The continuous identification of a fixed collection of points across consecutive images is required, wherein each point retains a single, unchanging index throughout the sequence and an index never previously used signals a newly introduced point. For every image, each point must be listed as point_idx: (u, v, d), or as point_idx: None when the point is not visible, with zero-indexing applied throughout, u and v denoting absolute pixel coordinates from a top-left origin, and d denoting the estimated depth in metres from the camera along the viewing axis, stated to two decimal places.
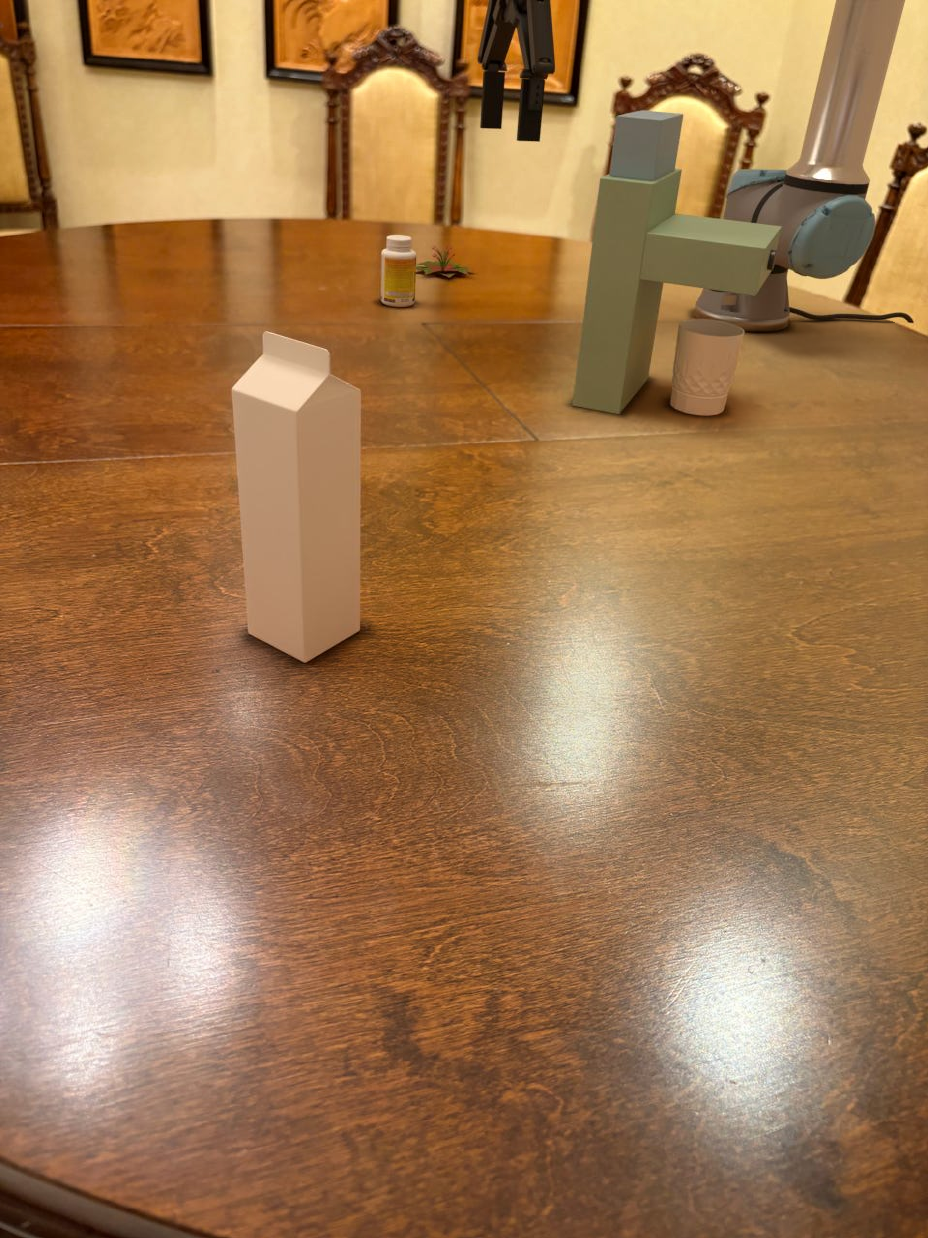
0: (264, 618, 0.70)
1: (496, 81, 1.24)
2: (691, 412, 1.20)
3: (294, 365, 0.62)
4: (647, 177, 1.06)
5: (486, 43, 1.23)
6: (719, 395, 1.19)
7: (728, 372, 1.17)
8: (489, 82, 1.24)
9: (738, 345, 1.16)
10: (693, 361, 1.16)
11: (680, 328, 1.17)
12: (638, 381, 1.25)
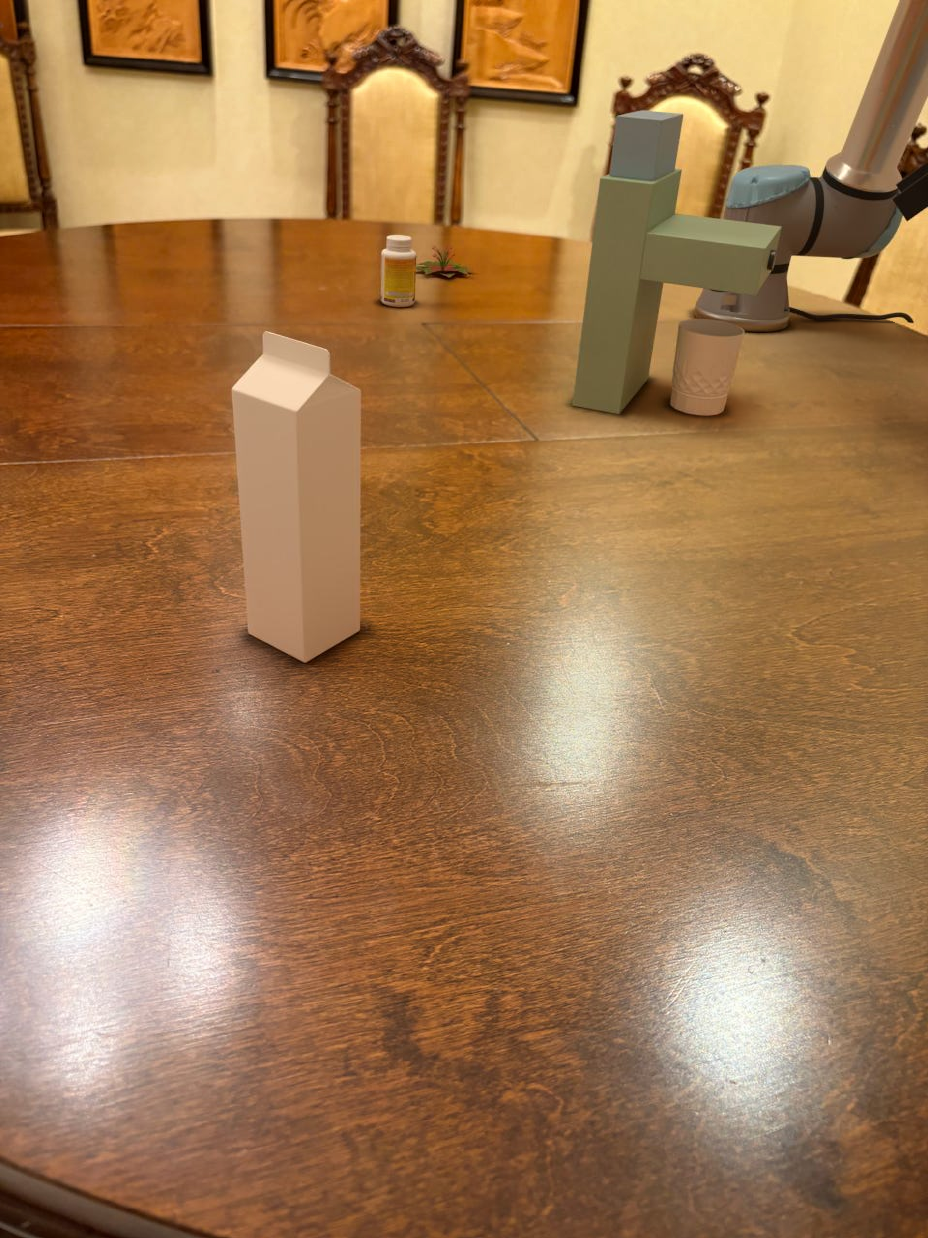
0: (264, 618, 0.70)
1: None
2: (691, 412, 1.20)
3: (294, 365, 0.62)
4: (647, 177, 1.06)
5: None
6: (719, 395, 1.18)
7: (728, 372, 1.17)
8: None
9: (738, 345, 1.16)
10: (693, 361, 1.16)
11: (680, 328, 1.17)
12: (638, 381, 1.25)
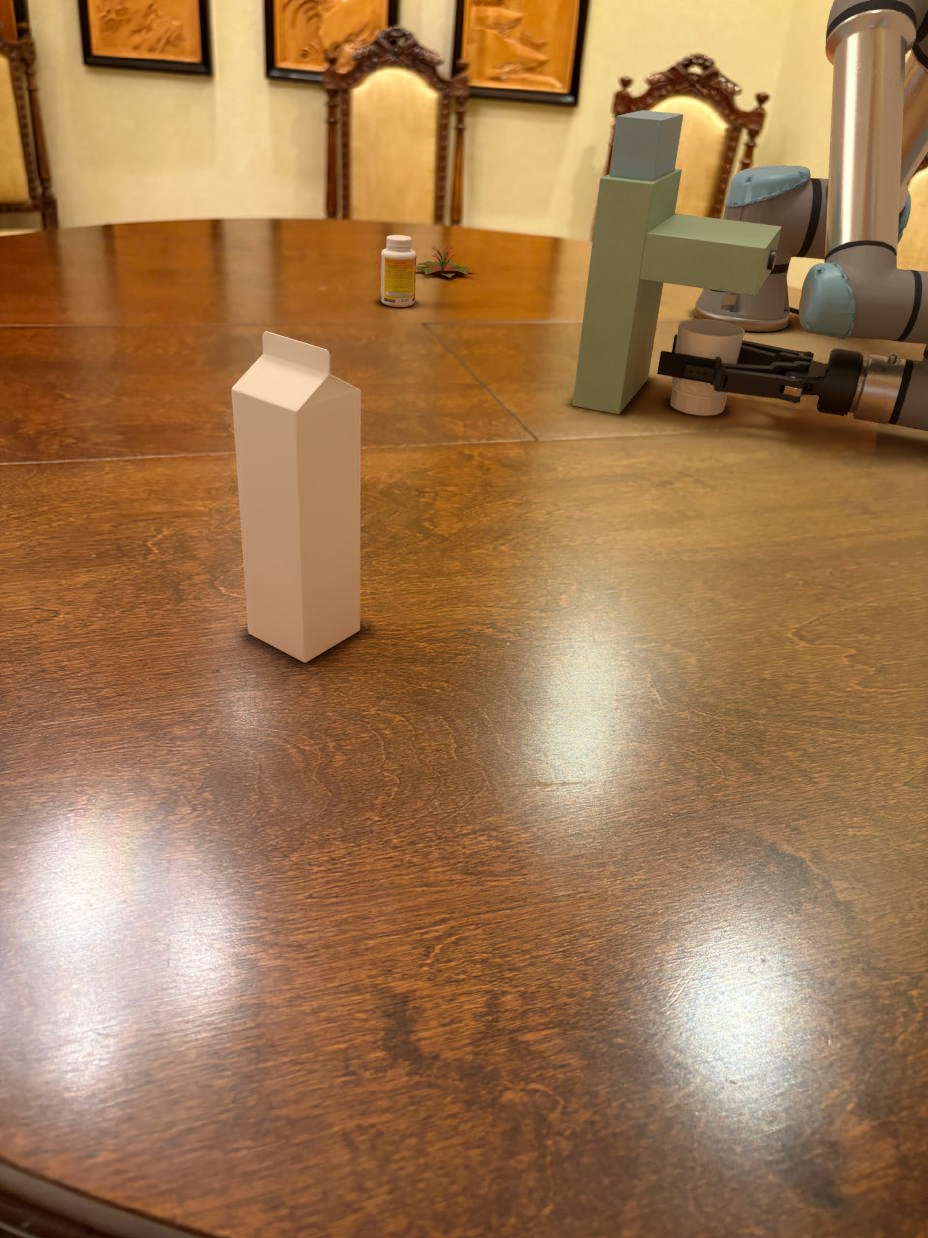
0: (264, 618, 0.70)
1: None
2: (691, 412, 1.20)
3: (294, 365, 0.62)
4: (647, 177, 1.06)
5: (754, 347, 1.22)
6: (719, 395, 1.18)
7: None
8: None
9: (738, 345, 1.16)
10: None
11: (680, 328, 1.17)
12: (638, 381, 1.25)
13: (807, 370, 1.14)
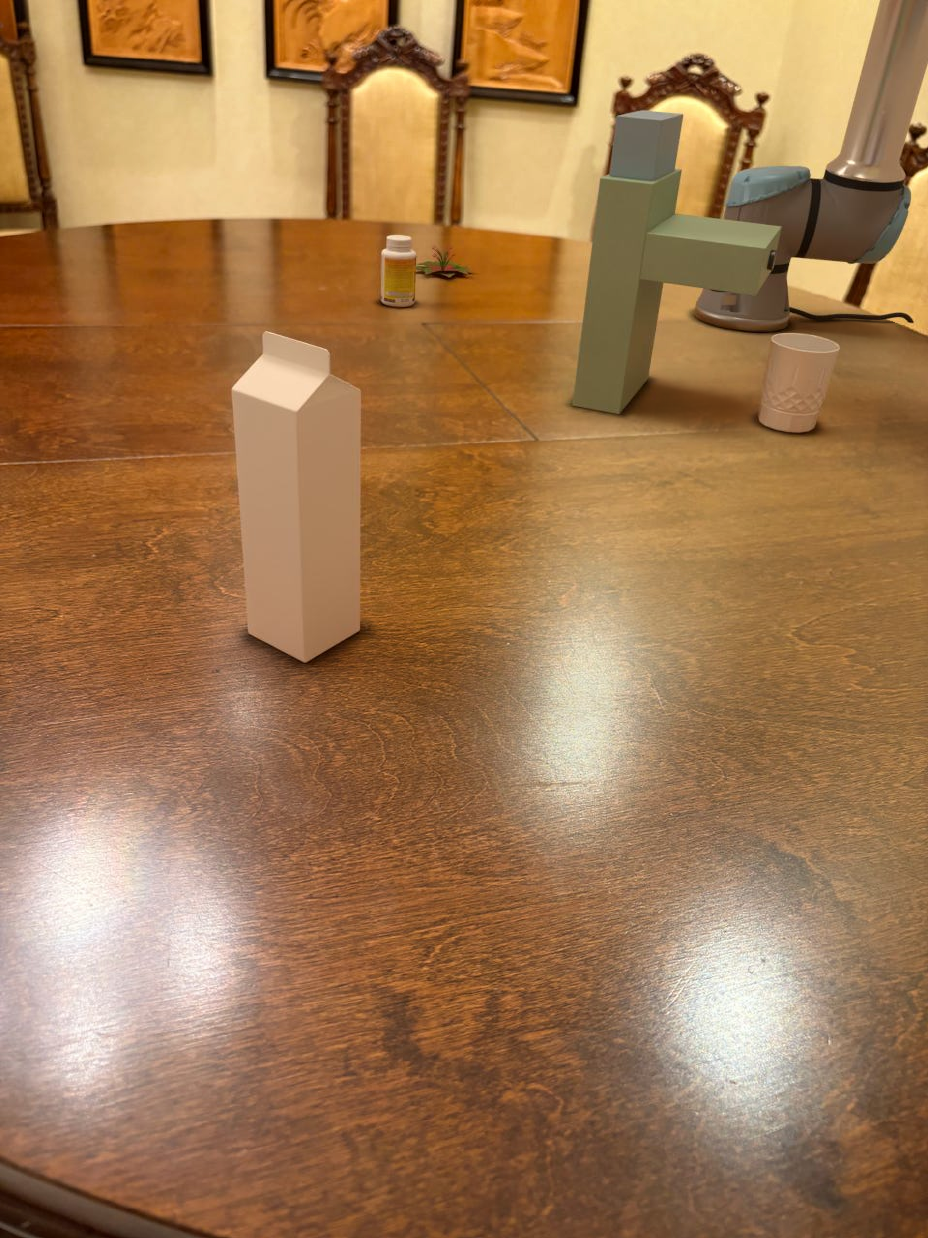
0: (264, 618, 0.70)
1: None
2: (782, 429, 1.16)
3: (294, 365, 0.62)
4: (647, 177, 1.06)
5: None
6: (812, 411, 1.15)
7: (822, 388, 1.14)
8: None
9: (833, 361, 1.12)
10: (787, 376, 1.13)
11: (773, 343, 1.13)
12: (638, 381, 1.25)
13: None
